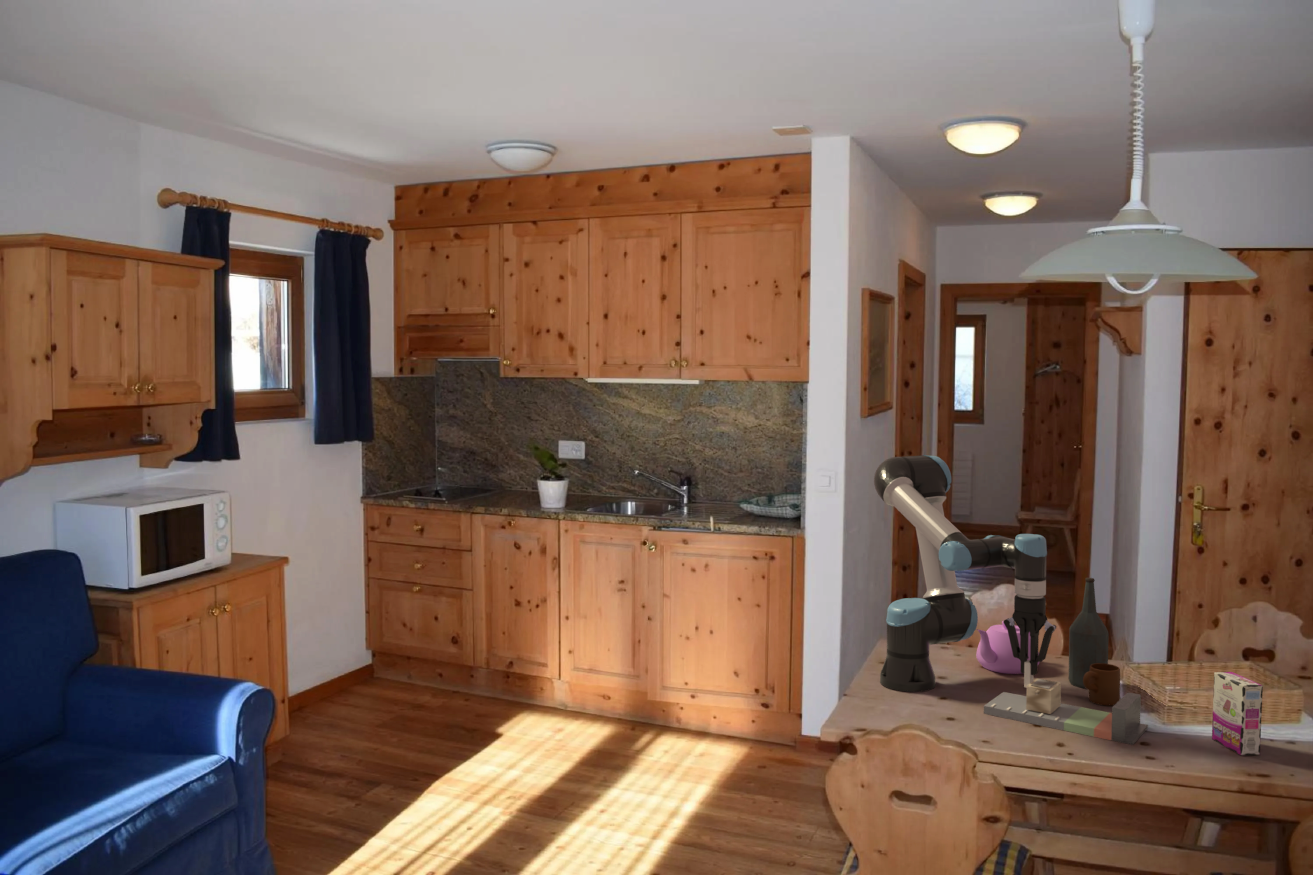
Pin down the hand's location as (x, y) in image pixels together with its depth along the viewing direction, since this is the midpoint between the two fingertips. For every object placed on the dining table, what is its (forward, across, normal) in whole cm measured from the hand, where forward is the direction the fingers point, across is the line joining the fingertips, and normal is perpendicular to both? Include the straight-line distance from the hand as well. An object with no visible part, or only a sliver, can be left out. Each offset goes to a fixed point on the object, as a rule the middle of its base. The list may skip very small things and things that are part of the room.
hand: (1028, 686), depth 262 cm
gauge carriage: (+5, +4, -1) cm, 6 cm away
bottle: (+7, +5, +34) cm, 35 cm away
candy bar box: (+8, +46, +6) cm, 47 cm away
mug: (+7, +12, +19) cm, 24 cm away
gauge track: (+7, +6, 0) cm, 10 cm away
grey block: (+7, +23, 0) cm, 24 cm away
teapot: (+7, -19, +36) cm, 41 cm away
